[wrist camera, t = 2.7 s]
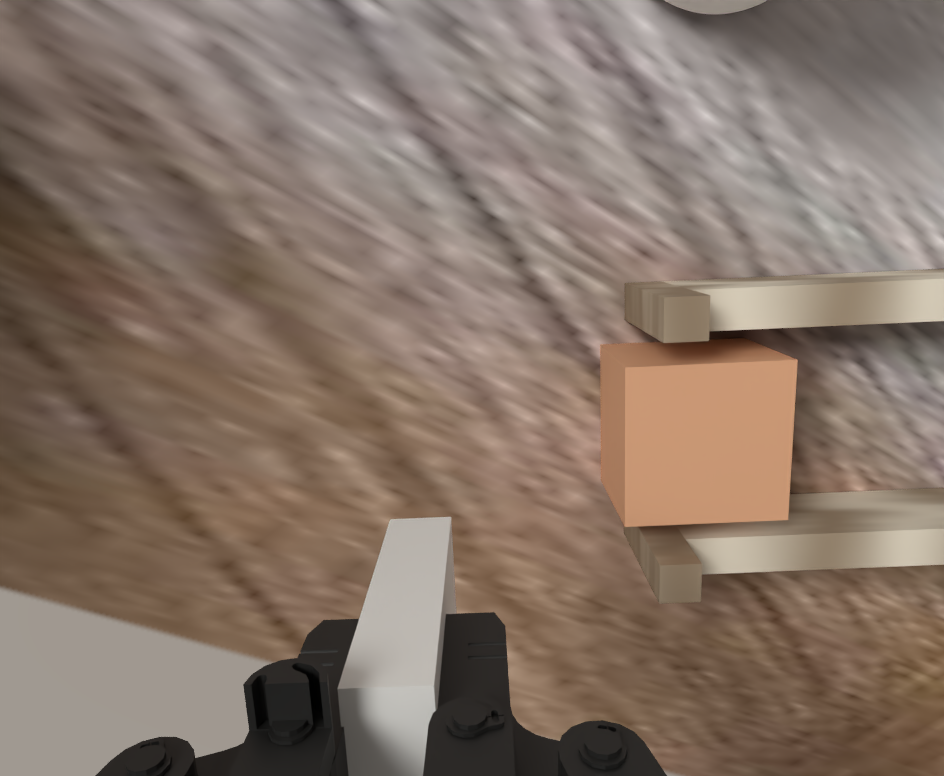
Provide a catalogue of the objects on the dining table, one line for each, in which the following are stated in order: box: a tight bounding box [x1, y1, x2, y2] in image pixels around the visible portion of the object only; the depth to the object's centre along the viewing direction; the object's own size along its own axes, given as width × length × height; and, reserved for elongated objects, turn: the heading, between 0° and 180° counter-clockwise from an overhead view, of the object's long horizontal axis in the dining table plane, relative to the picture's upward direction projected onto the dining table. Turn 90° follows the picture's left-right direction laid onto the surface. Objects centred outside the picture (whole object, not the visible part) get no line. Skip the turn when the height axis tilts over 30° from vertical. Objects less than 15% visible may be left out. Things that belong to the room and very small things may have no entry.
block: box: [600, 338, 798, 527], centre depth 28 cm, size 6×6×5 cm
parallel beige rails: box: [624, 269, 944, 604], centre depth 27 cm, size 14×11×6 cm
